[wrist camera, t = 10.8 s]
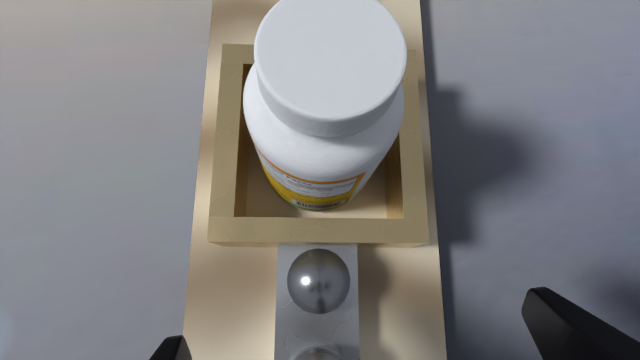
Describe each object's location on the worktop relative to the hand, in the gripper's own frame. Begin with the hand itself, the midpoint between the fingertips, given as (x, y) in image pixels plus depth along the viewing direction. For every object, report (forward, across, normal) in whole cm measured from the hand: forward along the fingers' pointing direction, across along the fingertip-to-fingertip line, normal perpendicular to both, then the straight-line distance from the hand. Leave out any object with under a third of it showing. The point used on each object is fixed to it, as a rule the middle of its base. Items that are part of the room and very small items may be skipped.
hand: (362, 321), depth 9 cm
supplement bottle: (+10, 0, +1) cm, 11 cm away
